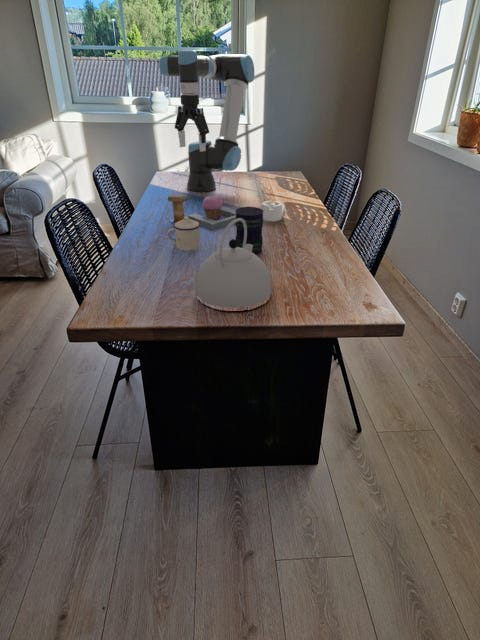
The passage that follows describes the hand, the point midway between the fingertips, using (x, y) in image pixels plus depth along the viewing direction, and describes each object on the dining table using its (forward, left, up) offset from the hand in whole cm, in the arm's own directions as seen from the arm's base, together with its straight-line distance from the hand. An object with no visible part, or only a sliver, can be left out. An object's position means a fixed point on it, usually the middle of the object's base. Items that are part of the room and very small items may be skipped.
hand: (192, 149), depth 193 cm
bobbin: (+10, -17, -27) cm, 33 cm away
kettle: (+73, -44, -27) cm, 89 cm away
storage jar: (+53, -18, -27) cm, 62 cm away
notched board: (+16, -3, -27) cm, 31 cm away
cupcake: (+16, -3, -27) cm, 31 cm away
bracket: (+30, +21, -27) cm, 45 cm away
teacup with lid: (+34, -33, -27) cm, 54 cm away
